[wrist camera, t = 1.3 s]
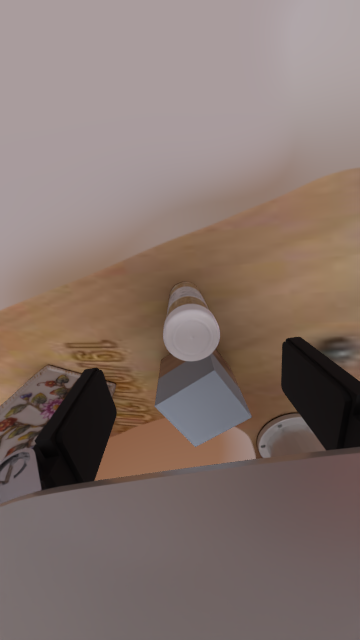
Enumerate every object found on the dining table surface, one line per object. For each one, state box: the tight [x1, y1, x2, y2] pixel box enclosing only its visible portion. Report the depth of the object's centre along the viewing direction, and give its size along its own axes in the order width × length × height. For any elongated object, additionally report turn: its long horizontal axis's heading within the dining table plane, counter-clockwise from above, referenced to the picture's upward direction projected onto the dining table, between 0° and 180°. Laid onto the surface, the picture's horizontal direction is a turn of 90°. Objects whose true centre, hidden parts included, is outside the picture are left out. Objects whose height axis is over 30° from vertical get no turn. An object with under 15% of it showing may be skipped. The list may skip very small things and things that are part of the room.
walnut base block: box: [159, 349, 239, 387], centre depth 30 cm, size 8×8×5 cm
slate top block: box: [155, 353, 252, 447], centre depth 25 cm, size 8×8×5 cm
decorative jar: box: [0, 365, 116, 461], centre depth 26 cm, size 12×12×18 cm
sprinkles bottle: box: [163, 282, 220, 361], centre depth 22 cm, size 5×5×14 cm
